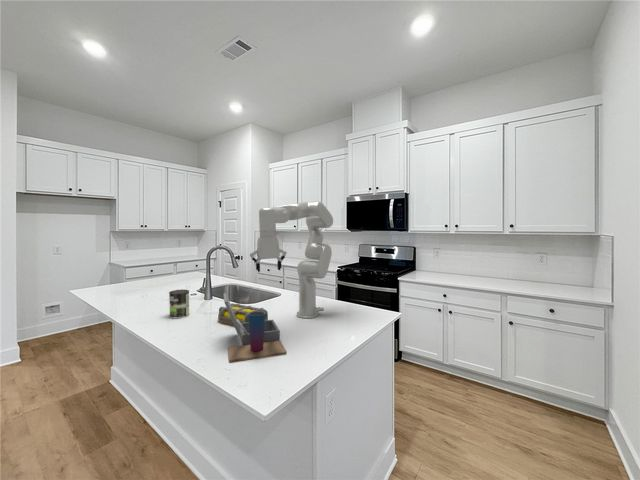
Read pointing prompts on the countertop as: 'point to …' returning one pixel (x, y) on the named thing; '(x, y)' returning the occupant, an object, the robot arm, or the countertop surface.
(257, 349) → the cup
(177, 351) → the countertop surface
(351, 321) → the countertop surface
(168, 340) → the countertop surface
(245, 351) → the walnut board
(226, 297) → the case lid
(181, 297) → the coffee can
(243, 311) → the cage light
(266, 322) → the equipment case
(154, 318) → the countertop surface
